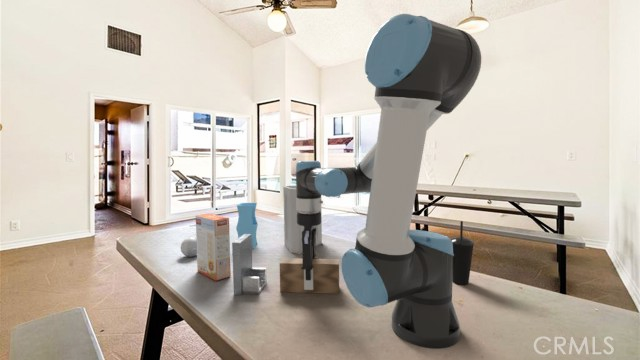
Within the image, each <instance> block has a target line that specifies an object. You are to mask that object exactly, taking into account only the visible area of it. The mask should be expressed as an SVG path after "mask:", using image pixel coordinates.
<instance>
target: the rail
mask: <svg viewBox="0 0 640 360" xmlns="http://www.w3.org/2000/svg"><path fill="white" fill-rule="evenodd" d="M301 267H303V258H294V257H293V258H287V257H286V258H284V257H282V259H281V260H280V262H279V293H299V294H300V293H308V294H309V293H311V294H340V259H339V258H318V259H312V267H313V290H304V269H301Z"/></svg>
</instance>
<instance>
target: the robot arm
mask: <svg viewBox="0 0 640 360" xmlns="http://www.w3.org/2000/svg"><path fill="white" fill-rule="evenodd" d="M481 66H482V52H481V48H480V45H479V44H478V42H477V40H476V39H475V37H473V36H472V35H471V34H470V33H468V32H467V31H465V30H461V29H458V28H454V27H452V26H450V25H449V26H448V25H446V24H443V23H441V22H437V21H434V20H431V19H428V17H426V16H424V15H414V14H411V13H399V14H397V15H394V16H392V17H390V18H389V19H387V20H386V21H385V22H384V23H383V24H382V25H381V26H380V27H379V29H378V30H377V32H375V34H374V35H373V36H372V38H371V41H370V43H369V45H368V48H367V50H366V54H365V59H364V72H365V73H364V74H366V75H367V77H366V79H367V81H368V82H369V83H370V84H371V85H372V86H373V87H375V91H374V97H373V98H374V100H375V101H376V103H377V105H379V108H380V116H379V122H378V123H379V124H378V130H377V131H378V132H377V137H376V138H377V140H376V142H375V143H374V144H373V145H372V147H370V149H369V150H368V152H367V153H365V156H363V158H362V159H361V160H360V162H358V164H357V165H356V166H353V167H349V166H347V167H322V165H321V162H320V161H318V160H300V161H297V162H296V167H295V186H296V193H297V197H296V210H297V211H298V212H297V224H298V225H300V226H304V230H303V231H302V253H301V254H302V259H303V267H301V269H304V290H313V267H312V259H319V258H318V257H317V253H316V252H317V249H316V247H317V246H316V227H314V226H317V225H320V224H321V216H322V204H324V200H322V197H324V196H325V197H326V198H337V197H340V196H341V195H349V194H361V193H369V199H368V205H367V214H366V221H365V227H363V229H361V230H359V231H358V232H357V234H356V239H355V246H354V248H349V249H348V250H346V252H344V253H343V255H342V258H341V273H342V277H343V280H344V282H345V285H346V288H347V290H348V291H349V293H350V294H351V296H352V298H354V300H355V301H356V302H357V303H358V304H360V305H362V306H363V307H366V308H374V307H375V308H376V307H379V306H382V307H383V306H385V305H387V304H389V303H392V302H395V301H396V302H395V305H394V308H393V309H392V310H393V311H392V313H391V327H392V330H393V332H394V333H395V334H396V335H397V336H398V337H399V338H400V339H402V340H404V341H406V342H408V343H409V344H412V345H415V346H416V347H417V346H418V347H420V348H426V349H431V350H432V349H437V350H438V349H440V350H441V349H446V348H450V347H453V346H454V345H456V344H457V343H458V342H459V341H460V337H461V327H460V321H459V319H458V315H457V312H456V309H455V306H454V303H453V282H452V281H453V256H454V253H453V243H452V241H451V239H450V237H449V236H446V235H444V234H441V233H436V232H433V231H427V230H419V229H411V223H412V218H413V212H414V205H415V200H416V195H417V189H418V184H419V183H418V182H419V177H420V172H421V166H422V160H423V155H424V154H423V153H424V149H425V142H426V136H427V131H428V130H429V129H430V128H431V127H432V126H433V125H434V124H435V123H436V122H437V120H438V119H439V118H440V117H442V115H449V114H451V113H452V112H453V111H454V110H455V109H456V108H457V107H458V106H459V104H461V102H463V100H464V99H465V98H466V97H467V95H469V93H470V91H471V90H472V89H473V87H474V85H475V84H476V81H477V80H478V77H479V75H480V72H481V68H482V67H481ZM320 199H321V201H320ZM320 210H321V212H320Z"/></svg>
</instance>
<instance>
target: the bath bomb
mask: <svg viewBox="0 0 640 360" xmlns="http://www.w3.org/2000/svg"><path fill="white" fill-rule="evenodd" d="M180 252H181V253H182V255H184V257H190V258H191V257H194V256H197V238H196V237H187V238H185V239H184V240H183V241H182V242H181V245H180Z"/></svg>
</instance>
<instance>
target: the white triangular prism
mask: <svg viewBox="0 0 640 360" xmlns="http://www.w3.org/2000/svg"><path fill="white" fill-rule="evenodd" d="M282 189H283V228H284V229H283V232H284V235H283V236H284V239H283V240H284V246H285V247H286V248H287V249H288V251H289V252H291V253H293V254H299V255H301V254H302V231H303V230H304V226H300V225H298V224H297V212H298V211H297V210H296V197H297V193H296V185H283V188H282ZM321 200H322V198H321V199H320V201H321ZM320 212H321V213H322V209H321V210H320ZM322 219H323V217H322V215H321V224H320V225H317V226H314V227H316V247H318V246H319V245H321V244H323V241H322V240H323V234H322V232H323V229H322V224H323V223H322Z"/></svg>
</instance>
